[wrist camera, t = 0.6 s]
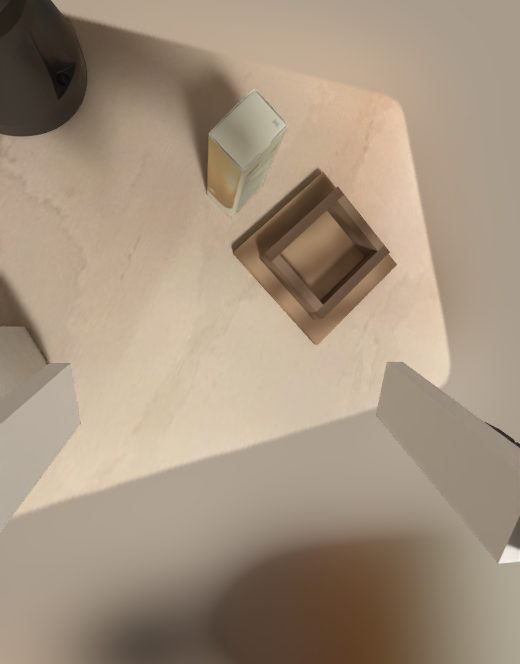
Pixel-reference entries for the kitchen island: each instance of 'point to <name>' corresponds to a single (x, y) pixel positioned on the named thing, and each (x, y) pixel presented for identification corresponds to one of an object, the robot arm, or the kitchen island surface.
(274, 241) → the walnut box stand
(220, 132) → the skincare box
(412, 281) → the kitchen island surface
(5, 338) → the grey rectangular block
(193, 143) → the kitchen island surface
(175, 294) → the kitchen island surface
